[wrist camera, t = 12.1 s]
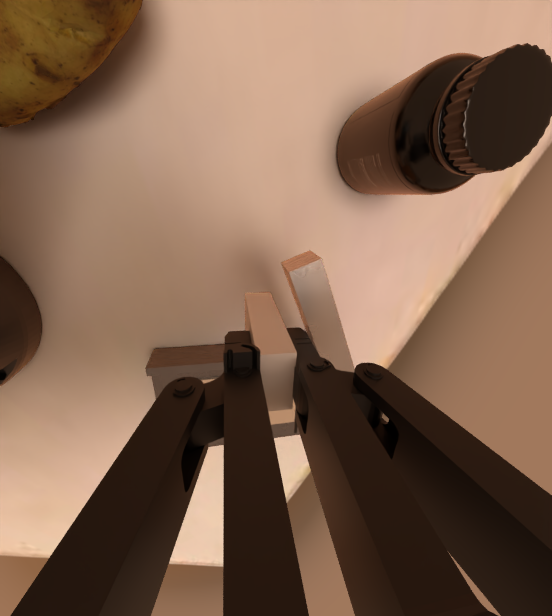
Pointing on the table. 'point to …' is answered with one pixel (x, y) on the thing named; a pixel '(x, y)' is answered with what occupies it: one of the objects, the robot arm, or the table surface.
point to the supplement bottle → (449, 123)
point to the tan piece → (318, 308)
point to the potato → (54, 49)
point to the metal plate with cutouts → (205, 378)
